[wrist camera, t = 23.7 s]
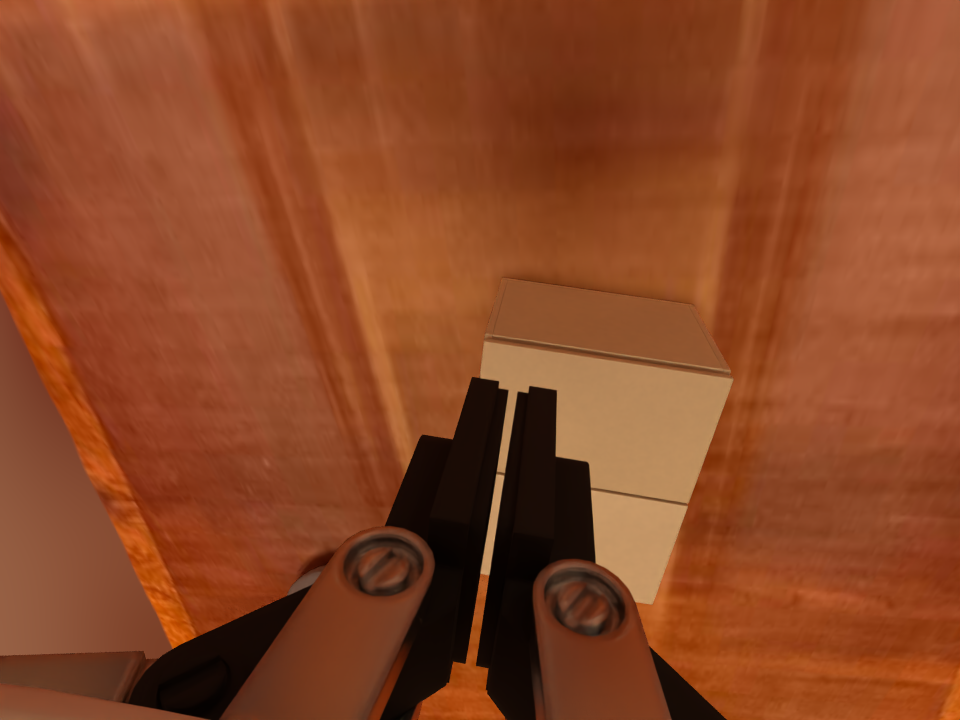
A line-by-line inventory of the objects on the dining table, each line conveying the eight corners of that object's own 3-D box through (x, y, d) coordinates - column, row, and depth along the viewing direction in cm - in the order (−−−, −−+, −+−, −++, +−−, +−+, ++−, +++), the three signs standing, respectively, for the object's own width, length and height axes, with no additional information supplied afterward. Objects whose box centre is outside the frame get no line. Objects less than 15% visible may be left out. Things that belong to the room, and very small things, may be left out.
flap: (484, 337, 29) (483, 341, 29) (732, 375, 28) (734, 379, 28) (470, 462, 33) (468, 467, 33) (687, 499, 32) (688, 504, 32)
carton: (502, 277, 38) (482, 339, 29) (693, 304, 37) (735, 378, 28) (477, 472, 46) (455, 570, 37) (634, 499, 45) (653, 606, 36)
